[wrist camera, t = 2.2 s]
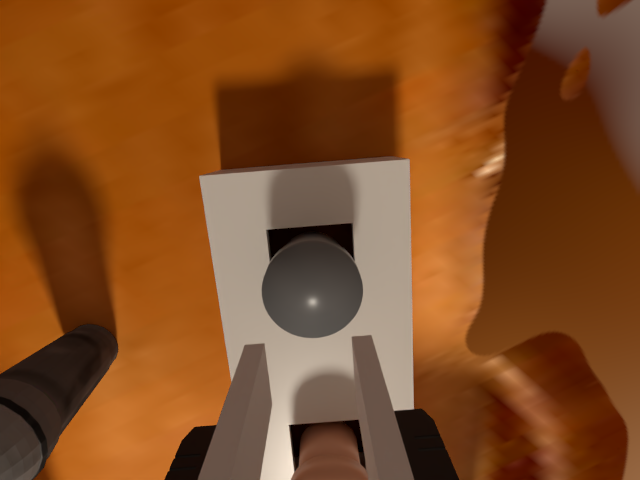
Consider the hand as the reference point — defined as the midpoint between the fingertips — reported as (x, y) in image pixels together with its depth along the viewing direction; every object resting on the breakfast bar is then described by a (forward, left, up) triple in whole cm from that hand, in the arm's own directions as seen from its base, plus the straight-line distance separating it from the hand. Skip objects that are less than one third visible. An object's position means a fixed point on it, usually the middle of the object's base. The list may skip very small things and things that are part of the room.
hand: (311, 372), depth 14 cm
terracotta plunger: (+16, 0, -14) cm, 21 cm away
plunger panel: (+8, 0, -19) cm, 20 cm away
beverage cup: (+8, -21, -19) cm, 29 cm away
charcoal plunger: (0, 0, -14) cm, 14 cm away
